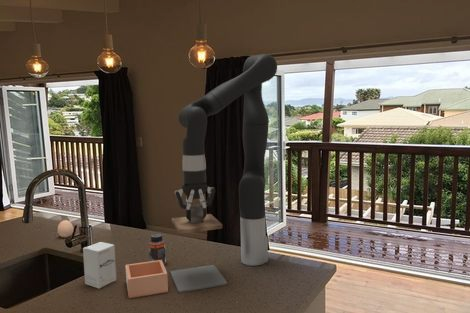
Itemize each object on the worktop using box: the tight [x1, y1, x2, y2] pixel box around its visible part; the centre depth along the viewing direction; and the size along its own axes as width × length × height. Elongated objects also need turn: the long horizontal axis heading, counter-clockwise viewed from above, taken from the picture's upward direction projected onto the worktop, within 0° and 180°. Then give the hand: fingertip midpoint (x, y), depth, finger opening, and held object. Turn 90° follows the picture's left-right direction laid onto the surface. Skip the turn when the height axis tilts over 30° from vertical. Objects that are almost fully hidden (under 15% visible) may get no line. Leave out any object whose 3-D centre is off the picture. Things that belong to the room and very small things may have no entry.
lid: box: [171, 204, 223, 234], centre depth 130 cm, size 14×14×6 cm
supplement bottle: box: [148, 233, 167, 266], centre depth 145 cm, size 6×6×11 cm
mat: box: [169, 264, 228, 294], centre depth 133 cm, size 16×16×1 cm
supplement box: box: [82, 241, 117, 290], centre depth 131 cm, size 7×7×13 cm
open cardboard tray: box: [125, 260, 169, 299], centre depth 127 cm, size 12×12×6 cm
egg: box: [57, 219, 74, 238], centre depth 179 cm, size 7×7×8 cm
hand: (196, 219), depth 131 cm, fingers closed on lid, 4 cm apart
